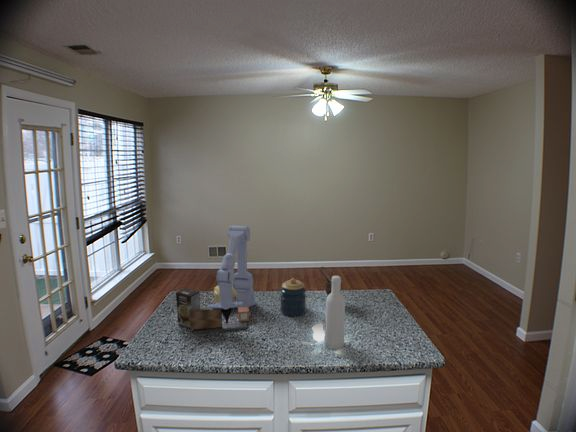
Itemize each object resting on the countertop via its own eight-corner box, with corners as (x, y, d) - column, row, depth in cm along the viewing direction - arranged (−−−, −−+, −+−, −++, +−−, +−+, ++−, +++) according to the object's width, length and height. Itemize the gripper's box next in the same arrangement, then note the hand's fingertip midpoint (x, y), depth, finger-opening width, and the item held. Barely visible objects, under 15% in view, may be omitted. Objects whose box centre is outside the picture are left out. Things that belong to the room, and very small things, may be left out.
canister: (306, 305, 177) (306, 274, 174) (305, 317, 164) (305, 283, 161) (282, 304, 178) (281, 273, 175) (278, 316, 166) (278, 282, 162)
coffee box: (177, 324, 159) (175, 292, 156) (187, 318, 164) (185, 287, 161) (191, 328, 154) (189, 296, 151) (201, 322, 160) (199, 290, 157)
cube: (248, 315, 167) (248, 306, 166) (249, 321, 162) (248, 311, 161) (238, 316, 166) (238, 307, 165) (238, 322, 161) (238, 312, 160)
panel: (222, 325, 155) (221, 306, 153) (222, 326, 153) (221, 308, 151) (190, 328, 152) (189, 309, 151) (190, 329, 151) (189, 311, 149)
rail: (246, 324, 158) (246, 322, 158) (247, 328, 154) (246, 326, 154) (193, 329, 154) (193, 327, 154) (192, 334, 150) (192, 331, 150)
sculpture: (211, 301, 182) (210, 282, 180) (232, 297, 188) (232, 278, 186) (217, 310, 172) (216, 290, 170) (239, 305, 178) (239, 286, 176)
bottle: (331, 337, 147) (333, 272, 142) (347, 343, 142) (349, 276, 137) (321, 345, 141) (322, 277, 136) (337, 352, 136) (339, 282, 131)
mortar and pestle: (320, 307, 175) (320, 271, 171) (318, 300, 184) (319, 265, 180) (342, 307, 175) (343, 270, 171) (339, 300, 184) (340, 265, 180)
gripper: (208, 300, 146) (210, 328, 149) (242, 297, 149) (243, 325, 152) (209, 293, 153) (211, 320, 156) (241, 290, 156) (242, 318, 158)
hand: (227, 322), depth 154 cm, fingers closed
